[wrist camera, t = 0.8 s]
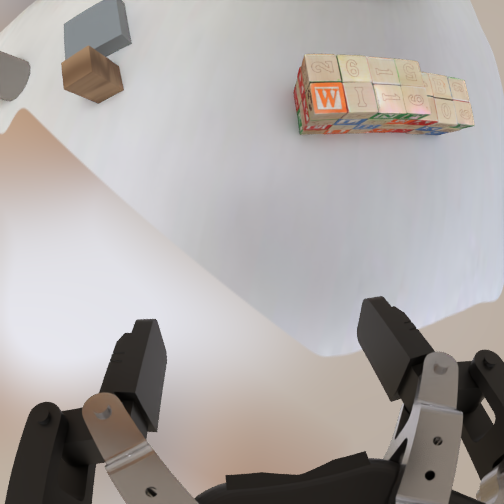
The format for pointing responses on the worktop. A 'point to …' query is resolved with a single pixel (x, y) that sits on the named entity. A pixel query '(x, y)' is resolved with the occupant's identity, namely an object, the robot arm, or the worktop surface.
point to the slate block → (98, 29)
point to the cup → (12, 76)
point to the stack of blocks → (377, 97)
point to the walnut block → (91, 75)
